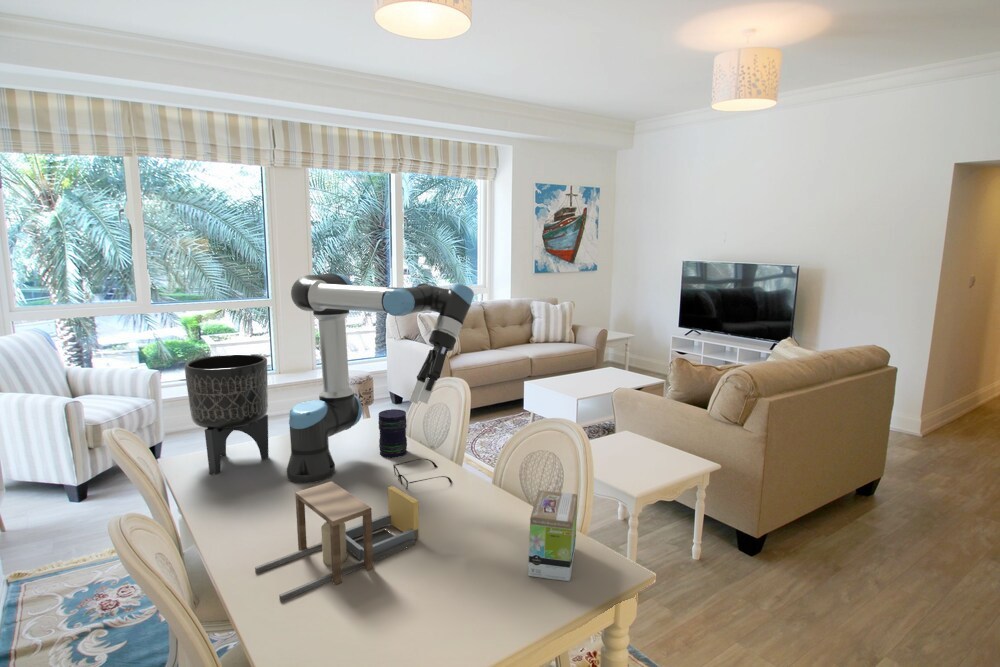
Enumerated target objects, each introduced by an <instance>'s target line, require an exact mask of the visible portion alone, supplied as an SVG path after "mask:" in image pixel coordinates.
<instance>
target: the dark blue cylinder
mask: <svg viewBox="0 0 1000 667" xmlns="http://www.w3.org/2000/svg"><path fill="white" fill-rule="evenodd" d="M407 427H408V426H407V412H406V411H405V410H403V409H397V408H393V409H385V410H382V411H380V412H378V430H379V438H378V439H379V440H378V443H379V444H378V448H379V456H380V455H381V456H380V457H381V458H384V457H385V458H386V459H397V458H402V457H404V456H406V455H407V453H408V450H407V449H408V448H407V447H408V440H407V439H408V438H407V432H406V429H407Z"/></svg>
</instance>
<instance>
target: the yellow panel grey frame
mask: <svg viewBox="0 0 1000 667" xmlns="http://www.w3.org/2000/svg"><path fill="white" fill-rule="evenodd" d="M387 499H388V501H387V503H388V504H387V505H388V513H387V514H385V515H382V516H379V517H376V518H374V519H372V532H375V531H377V530H380V529H383V528H385V527H387V526H389V525H391V526H393V527H394V528H396V529H397V530H400V531H401V533H398V534H396V536H393V537H391V538H388V539H386V540H383V541H381V542H378V543H376V544H373V556H374V555H376V554H378V553H381V552H383V551H386V550H388V549H390V548H393V547H395V546H398V545H400V544H402V543H405V542H407V541H410V540H412V539H414V540H415V541H416V540H417V539H419V538H420V523H419V522H420V517H419V514H420V513H419V507H420V506H419V500H418V499H416V498H414V497H413V496H411V495H409V494H407V493H406V492H404V491H402V490H400V489H399V488H397V487H395V486H394V485H392V486H389V487H387ZM362 536H363V523H360V524H358V525H354V526H352V527H349V528H347V529H346V550H348V551H349V552H350V553H351V554H352V555H354V556H355V557H356V558H357V559H359V561H362V560H364V548H362V547H361V546H360V545H359V544H357V543H356V542H355V541H354V540H355V539H357V538H359V537H362Z"/></svg>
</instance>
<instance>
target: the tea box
mask: <svg viewBox="0 0 1000 667" xmlns="http://www.w3.org/2000/svg"><path fill="white" fill-rule="evenodd" d="M577 514H578V494H577V493H569V492H561V491H560V492H559V491H548V490H538V492H537V495H536V499H535V502H534V505H533V508H532V511H531V514H530V517H529V520H530V521H529V523H530V524H529V546H528V548H529V549H528V569H527V570H528V573H527V574H528V577H534V578H541V579H548V580H556V581H565V582H570V580H571V576H572V571H573V563H574V556H575V550H576V543H577V542H576V540H577V539H576V537H577V516H578V515H577Z"/></svg>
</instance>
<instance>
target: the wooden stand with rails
mask: <svg viewBox="0 0 1000 667" xmlns="http://www.w3.org/2000/svg"><path fill="white" fill-rule="evenodd" d="M294 494H295V509H296V510H295V512H296V530H297V548H298V551H294V552H293V553H290V554H287V555H286V554H285V555H284V556H281V557H278V558H276V559H273V560H270V561H268V562H265V563H262V564H261V565H257V566H255V568H254V570H255V573H256V574H259V573H261V572H264V571H267V570H269V569H271V568H274V567H277V566H280V565H283V564H285V563H288V562H291V561H292V560H295V559H299V558H301V557H303V556H307V555H308V554H312V553H314V552H317V551H319V550H322V541H321V542H319V543H317V544H313V545H311V546H308V544H307V543H308V542H307V527H306V526H307V525H306V524H307V523H306V522H307V521H306V508H305V506H306V507H307V508H308V509H310V510H312V512H314V513H315V514H317V515H318V516H319V517H321V518H322V519H323V520H324V521H325V522H328V523H329V524H330V538H331V560H332V565H331V573H328V574H326V575H323V576H321V577H318V578H317V579H314V580H311V581H309V582H306V583H304V584H301V585H299V586H297V587H295V588H294V587H293V588H292V589H290V590H287V591H285V592H283V593H280V594H279V601H280V602H284V601H286V600H288V599H290V598H293V597H296V596H297V595H300V594H302V593H304V592H305V593H306V592H307V591H309V590H312V589H314V588H317V587H319V586H321V585H323V584H326V583H328V582H331V581H332V583H333V584H334V585H335V586H337V585H339V584H341V583H343V581H342V580H343V578H342V577H343V576H344V575H347V574H349V573H351V572H354V571H357V570H359V569H361V568H363V567H364V568H363V569H364V570H366V571H367V572H369V571H371V570H374V563H375V562H378V561H380V560H382V559H384V557H385V558H387V557H389V556H391V554H392V555H394V554H396V552H397V553H399V552H401V551H404V550H405V549H404V548H406V547H408V548H410V547H409V546H411V545H413V546H415V545H416V539H415V540H414V539H412V540H410V541H407V542H405V543H402V544H400V545H398V546H395V547H393V548H390V549H388V550H386V551H383V552H381V553H378V554H376V555H374V556H373V541H372V533H373V531H372V520H373V516H372V512H373V511H372V507H371V506H370V505H368V504H366V503H365V502H363V501H362V500H360V499H359V498H358V497H356V496H355V495H353V494H351V493H350V492H348V491H347V490H346V489H344V488H342V487H341V486H340V485H338V484H336V483H335V482H333V481H329V482H326V483H321V484H318V485H314V486H312V487H309V488H304V489H302V490H299V491H296V492H295V493H294ZM361 517H362V524H363V535H362V537H363V543H364V560H363V559H361V560H359V561H357V562H354V563H352V564H350V565H348V566H345V567H343V568H342V563H341V551H340V527H339V524H341V523H347V522H349V521H352V520H355V519H358V518H361ZM414 544H415V545H414ZM411 547H412V546H411ZM403 549H404V550H403ZM406 549H407V548H406ZM400 550H401V551H400ZM398 551H399V552H398ZM393 553H394V554H393Z"/></svg>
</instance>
